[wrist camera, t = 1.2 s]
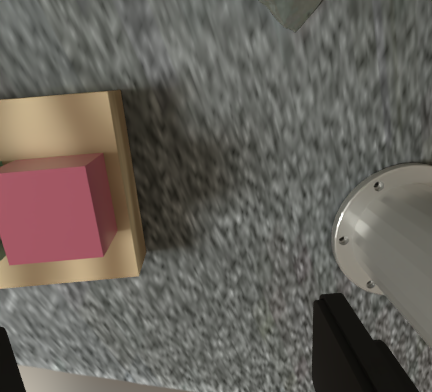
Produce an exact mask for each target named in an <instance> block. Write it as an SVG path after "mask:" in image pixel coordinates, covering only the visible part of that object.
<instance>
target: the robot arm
mask: <svg viewBox="0 0 432 392" xmlns="http://www.w3.org/2000/svg"><path fill="white" fill-rule="evenodd" d="M375 183H376V185H374V184H375ZM331 243H332V251H333V254H334V257H335V260H336V262H337V264H338V266H339V267H340V269H341V270H342V272H343V273H344V274H345V275H346V276H347V278H348V279H349V280H350V281H351V282H353V283H354V284H355V285H356V286H358V287H359V288H361V289H363V290H365V291H368V292H371V293H375V294H379V295H385V296H386V297H387V298H388V299H389V300H390V302H391V303H392V304H393V305H394V306H395V307H396V308H397V310H398V311H399V312H400V313H401V314H402V315H403V317H404V318H405V319H406V320H407V321H408V322H409V324H410V325H411V326H412V327H413V328H414V329H415V330H416V332H417V333H418V334H419V335H420V336H421V337H422V339H423V340H424V341H425V342H426V343H427V344H428V346H429V347H430V348H431V349H432V165H429V164H421V163H406V164H398V165H395V166H391V167H387V168H385V169H383V170H380V171H378V172H376V173H374V174H372V175H371V176H369V177H368V178H366V179H365V180H363V181H362V182H361V183H359V184H358V185H357V186H356V187H355V188H354V189H353V190H352V191H351V192H350V193H349V195H348V196H347V197H346V199H345V200H344V201H343V203H342V204H341V206H340V208H339V210H338V212H337V214H336V217H335V220H334V223H333V227H332V236H331ZM312 380H313V385H314V388H315V391H316V392H419V391H418V389H417V388H416V387H415V385H414V384H413V382H412V381H411V379H410V378H409V377H408V375H407V374H406V372H405V371H404V369H403V368H402V367H401V365H400V364H399V362H398V361H397V359H396V358H395V357H394V355H393V354H392V352H391V351H390V349H389V348H388V346H387V345H386V344H385V343H384V342H383V341H381V340H373V339H372V338H371V336H370V335H369V333H368V332H367V330H366V329H365V327H364V326H363V324H362V323H361V321H360V320H359V318H358V317H357V315H356V314H355V312H354V310H353V309H352V307H351V306H350V304H349V303H348V301H347V300H346V298H345V297H344V295H343V294H342V293H333V294H322V295H320V299H319V300H315V301H314V304H313V347H312ZM0 392H26V390H25V387H24V384H23V381H22V378H21V375H20V372H19V369H18V366H17V363H16V360H15V357H14V354H13V350H12V347H11V344H10V341H9V338H8V335H7V332H6V330H5V328H3V327H0Z"/></svg>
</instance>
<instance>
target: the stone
mask: <svg viewBox="0 0 432 392" xmlns="http://www.w3.org/2000/svg"><path fill="white" fill-rule="evenodd" d="M259 1H260V2H261V3H263V4H264V5H265V6H266V7H267V8H268V9H269V10H270V12H271V13H272V15H273V16H274V17H275V18H276V19H277V21H278V22H279V23H280V24H282V25H283V26H284V27H285V28H289V29H291V30H293V31H294V32H295V33H296V31H297V30H298V29H299V28H300V27H301V26H302V25H303V23H304V22H305V21H306V20H307V19H308V17H309V16H310V15H311V14H312V13H313V12H314V10H315V9H316V8H317V6H318V5H319V4H320V2H321V1H322V0H259Z"/></svg>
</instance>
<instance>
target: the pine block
mask: <svg viewBox="0 0 432 392" xmlns="http://www.w3.org/2000/svg"><path fill="white" fill-rule="evenodd" d="M92 153H103V154H104V160H105V165H106V171H107V176H108V181H109V187H110V192H111V198H112V203H113V208H114V214H115V219H116V225H117V230H118V231H117V233H116V235H115V237H114V239H113V241H112V242H111V244H110V246H109V248H108V250H107V252H106V254H105V255H104V257H99V258H88V259H77V260H65V261H54V262H43V263H32V264H21V265H10V266H9V263H8V260H7V256H5V257H4V258H3V259H2V260H1V261H0V289H2V288H13V287H24V286H36V285H47V284H58V283H69V282H80V281H91V280H102V279H113V278H124V277H135V276H139V274H140V271H141V268H142V264H143V261H144V258H145V255H146V247H145V241H144V234H143V228H142V222H141V215H140V209H139V203H138V196H137V190H136V184H135V178H134V171H133V165H132V159H131V152H130V146H129V140H128V133H127V127H126V121H125V115H124V108H123V102H122V96H121V90H113V91H101V92H88V93H76V94H64V95H51V96H39V97H26V98H14V99H2V100H0V161H2V164H3V165H6V164H8V163H10V162H13V161H15V160H21V159H32V158H44V157H56V156H68V155H80V154H92Z"/></svg>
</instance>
